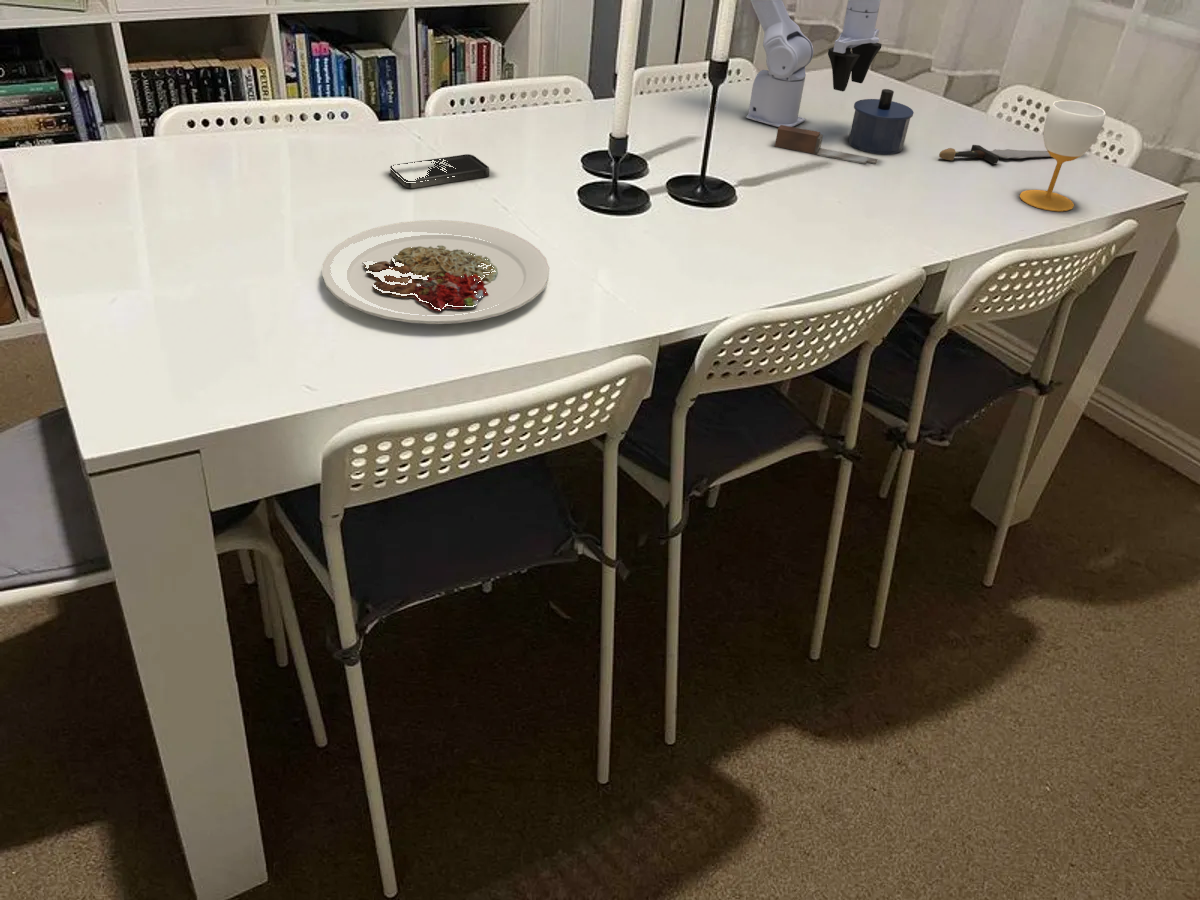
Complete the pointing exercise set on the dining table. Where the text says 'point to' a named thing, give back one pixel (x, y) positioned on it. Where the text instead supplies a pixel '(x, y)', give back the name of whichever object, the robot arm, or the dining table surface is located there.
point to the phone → (448, 171)
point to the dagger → (991, 154)
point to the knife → (812, 144)
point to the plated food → (443, 272)
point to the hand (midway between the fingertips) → (848, 86)
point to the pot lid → (884, 107)
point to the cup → (1065, 146)
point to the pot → (877, 134)
